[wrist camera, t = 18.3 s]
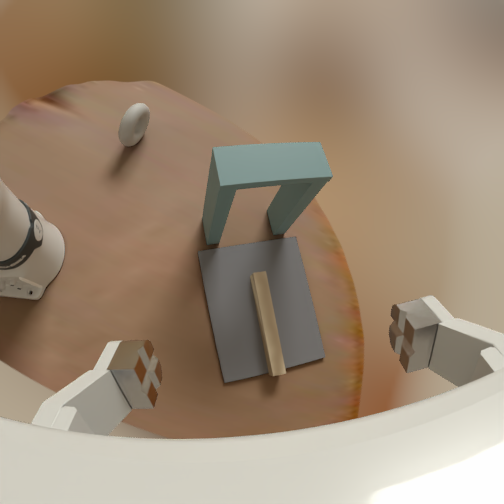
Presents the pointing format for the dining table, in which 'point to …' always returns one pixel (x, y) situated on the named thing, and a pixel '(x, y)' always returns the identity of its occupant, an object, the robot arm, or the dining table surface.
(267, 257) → the mat
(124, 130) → the donut
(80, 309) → the dining table surface
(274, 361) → the stick
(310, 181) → the teal arch
